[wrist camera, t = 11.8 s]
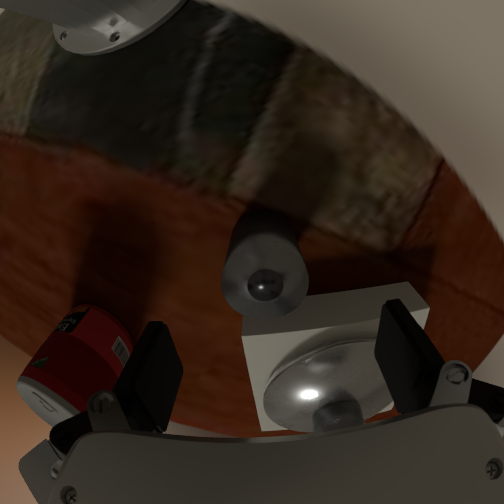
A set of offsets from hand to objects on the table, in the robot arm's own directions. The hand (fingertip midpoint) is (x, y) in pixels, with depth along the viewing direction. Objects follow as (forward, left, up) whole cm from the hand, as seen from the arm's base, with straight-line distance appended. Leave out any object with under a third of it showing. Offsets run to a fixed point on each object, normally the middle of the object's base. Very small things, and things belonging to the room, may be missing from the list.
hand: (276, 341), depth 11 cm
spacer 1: (-1, 0, -9) cm, 9 cm away
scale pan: (+11, +5, -5) cm, 13 cm away
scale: (+11, +5, -9) cm, 15 cm away
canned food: (+7, -17, -9) cm, 21 cm away
